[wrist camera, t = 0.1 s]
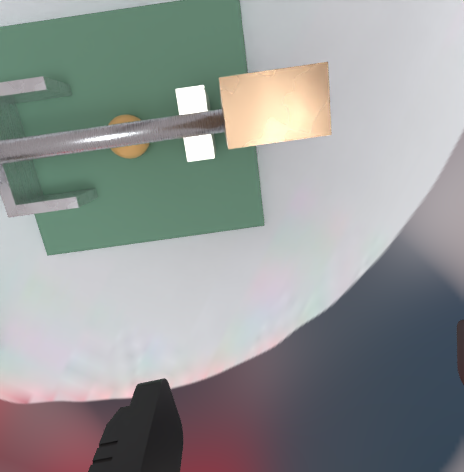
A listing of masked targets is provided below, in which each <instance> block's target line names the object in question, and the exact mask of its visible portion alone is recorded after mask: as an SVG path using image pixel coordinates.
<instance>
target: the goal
mask: <svg viewBox="0 0 464 472" xmlns="http://www.w3.org/2000/svg"><path fill="white" fill-rule="evenodd" d="M67 96H72V93H71V90H70V86H69V84H66V83H63V82H60V81H56V80H53V79H50V78H47V77H44V76H42V77H35V78H28V79H21V80H14V81H7V82H0V140H7V139H14V138H21V137H26V136H25V132H24V129H23V126H22V122H21V119H20V116H19V112H18V109H17V106H16V104H18V103H25V102H32V101H39V100H46V99H53V98H60V97H67ZM0 194H1V197H2V200H3V203H4V206H5V209H6V212H7V215H8V217H15V216H23V215H30V214H37V213H44V212H51V211H58V210H65V209H73V208H79V207H81V206H83V205H85V204H87V203H89V202H90V201H92V200H94V199H96V198H98V196H97V192H96V188H93V189H86V190H79V191H72V192H65V193H57V194H50V195H43V192H42V189H41V186H40V182H39V179H38V176H37V172H36V169H35V166H34V162H33V160H26V161H19V162H12V163H5V164H0Z"/></svg>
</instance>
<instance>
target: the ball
mask: <svg viewBox="0 0 464 472" xmlns="http://www.w3.org/2000/svg"><path fill="white" fill-rule="evenodd" d="M140 120H141V119H139V118H138V117H135V116H133V115H127V114H126V115H119V116H117V117H115V118H114V119H112V120H111V121H110V123H109V124H108V125H112V124H119V123H126V122H133V121H140ZM148 146H149V143H146V144H138V145H131V146H124V147H117V148H110V149H111V150H112V151H113V152H114V153H115V154H117V155H118V156H120V157H123V158H127V159H132V158H137V157H139V156H141V155H142V154H143V153H145V151H146V150H147V148H148Z"/></svg>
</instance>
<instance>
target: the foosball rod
mask: <svg viewBox="0 0 464 472" xmlns="http://www.w3.org/2000/svg"><path fill="white" fill-rule="evenodd" d="M175 90H176V96H177V102H178V108H179V114H180V115H175V116H168V117H161V118H154V119H147V120H140V121H133V122H126V123H119V124H112V125H105V126H98V127H91V128H84V129H77V130H70V131H63V132H56V133H49V134H42V135H35V136H28V137H21V138H14V139H7V140H0V164H5V163H12V162H19V161H26V160H33V159H40V158H47V157H54V156H61V155H68V154H75V153H82V152H89V151H96V150H103V149H110V148H117V147H124V146H131V145H138V144H146V143H153V142H160V141H167V140H174V139H181V138H184V143H185V149H186V155H187V161H188V162H190V161H197V160H204V159H211V158H215V155H216V144H215V138H214V134H216V133H223V132H225V137H226V144H227V147H228V149H234V148H241V147H248V146H255V145H262V144H269V143H277V142H284V141H291V140H298V139H305V138H312V137H319V136H326V135H331V116H330V95H329V74H328V62H324V63H317V64H310V65H303V66H296V67H289V68H282V69H275V70H268V71H261V72H254V73H247V74H240V75H233V76H226V77H219V90H220V101H221V108H222V109H217V110H210V103H209V97H208V95H207V92H206V90H205V87H204V85H201V86H194V87H187V88H180V89H175Z"/></svg>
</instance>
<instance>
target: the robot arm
mask: <svg viewBox="0 0 464 472" xmlns="http://www.w3.org/2000/svg"><path fill="white" fill-rule="evenodd" d="M457 359H458V361H457V363H458V373H459V376H460V379H461V381H462V383H463V384H464V320H461V321H459V322H458V324H457ZM182 451H183V430H182V424H181V420H180V417H179V414H178V411H177V408H176V405H175V402H174V399H173V396H172V392H171V389H170V386H169V383H168V381H167V380H166V379H160V380H155V381H150V382H145V383H140V384H138V385H137V386H136V389H135V391H134V394H133V397H132V400H131V404H130V406H126V407H121V408H120V409H119V410H118V411H117V412H116V414H115V415H114V416H113V418H112V419H111V420H110V421H109V423H108V424H107V425H106V428H105V430H104V433H103V435H102V438H101V440H100V443H99V448H97V451H96V453H95V456H94V458H93V465H91V466H90V468H89V471H88V472H180V467H181V459H182Z"/></svg>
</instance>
